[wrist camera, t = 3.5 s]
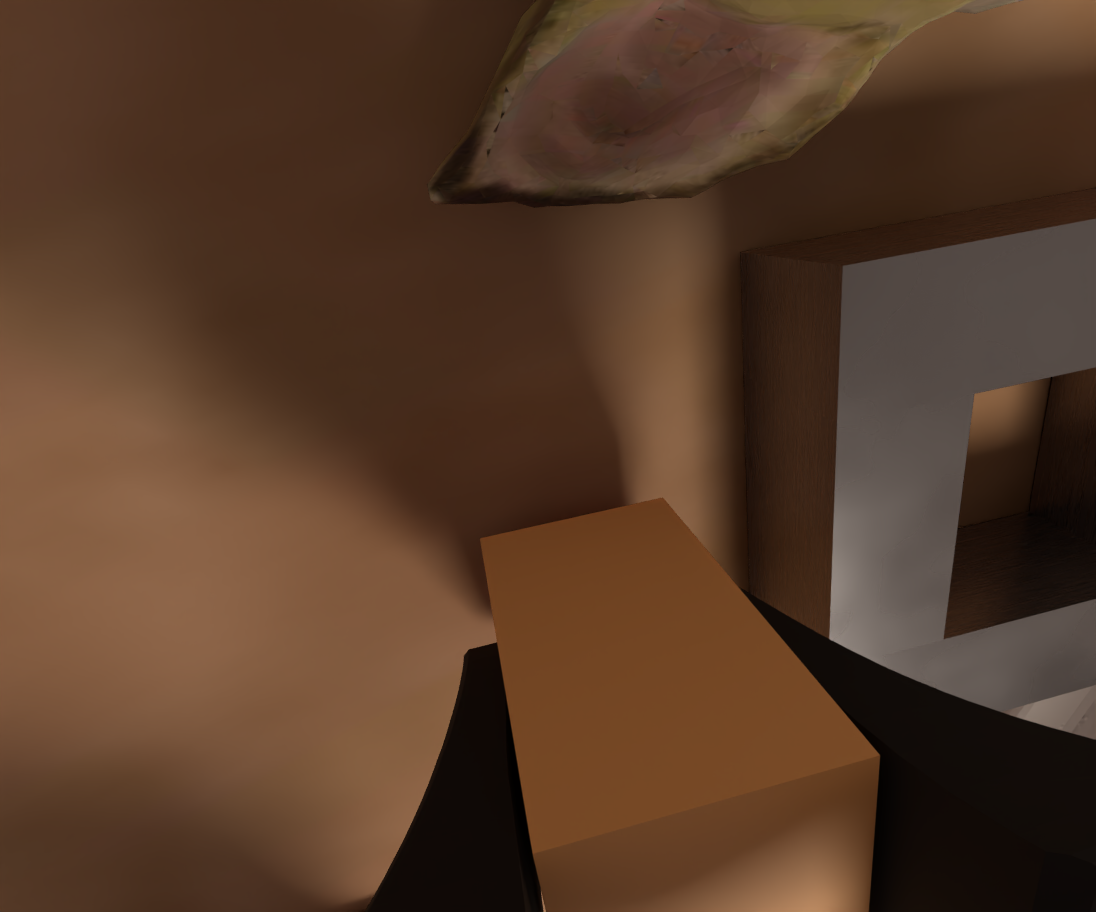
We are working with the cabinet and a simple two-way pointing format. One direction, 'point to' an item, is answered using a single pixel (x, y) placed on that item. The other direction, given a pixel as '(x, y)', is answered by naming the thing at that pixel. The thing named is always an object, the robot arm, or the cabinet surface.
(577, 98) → the ceramic sculpture
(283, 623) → the cabinet surface
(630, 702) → the orange square-section block
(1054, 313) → the socket block
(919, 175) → the cabinet surface
